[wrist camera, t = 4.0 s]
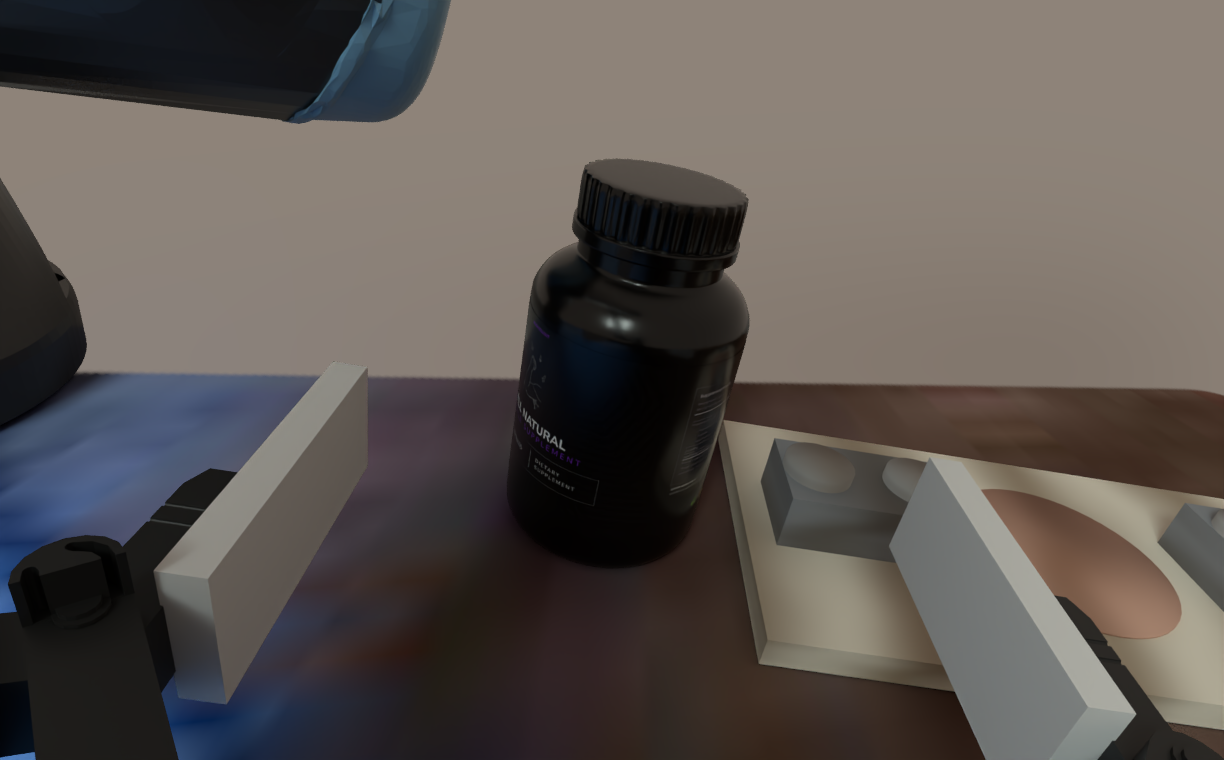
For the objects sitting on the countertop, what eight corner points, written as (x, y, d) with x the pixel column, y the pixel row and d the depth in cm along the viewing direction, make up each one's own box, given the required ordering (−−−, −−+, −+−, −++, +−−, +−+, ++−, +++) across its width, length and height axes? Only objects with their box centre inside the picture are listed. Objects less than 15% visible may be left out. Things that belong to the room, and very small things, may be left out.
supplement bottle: (467, 529, 24) (497, 166, 18) (553, 434, 29) (597, 138, 24) (660, 607, 22) (760, 235, 16) (711, 491, 28) (799, 186, 22)
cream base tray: (758, 663, 21) (791, 578, 19) (717, 438, 31) (737, 371, 30) (1520, 772, 22) (1612, 700, 20) (1231, 519, 32) (1276, 459, 31)
